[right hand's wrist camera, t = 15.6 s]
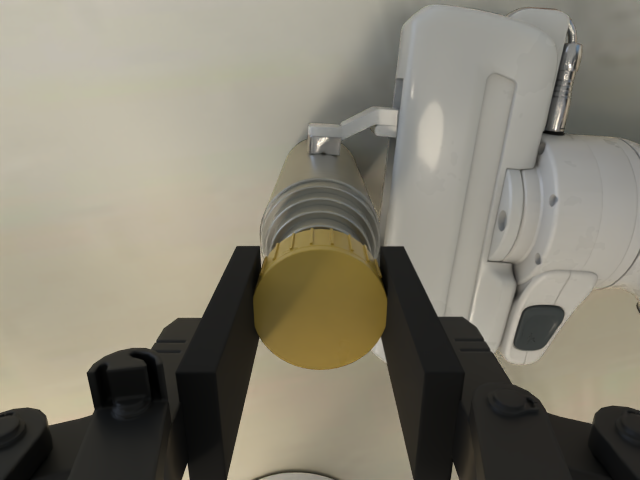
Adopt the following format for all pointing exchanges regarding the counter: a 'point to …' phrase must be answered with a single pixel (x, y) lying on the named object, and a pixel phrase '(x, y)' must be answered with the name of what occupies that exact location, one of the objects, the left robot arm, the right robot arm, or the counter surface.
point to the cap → (320, 300)
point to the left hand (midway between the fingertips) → (304, 196)
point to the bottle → (319, 200)
